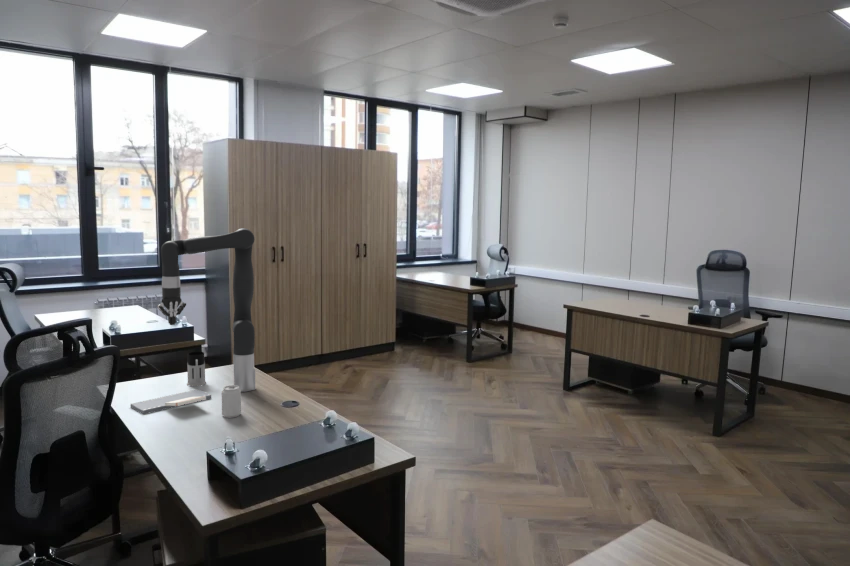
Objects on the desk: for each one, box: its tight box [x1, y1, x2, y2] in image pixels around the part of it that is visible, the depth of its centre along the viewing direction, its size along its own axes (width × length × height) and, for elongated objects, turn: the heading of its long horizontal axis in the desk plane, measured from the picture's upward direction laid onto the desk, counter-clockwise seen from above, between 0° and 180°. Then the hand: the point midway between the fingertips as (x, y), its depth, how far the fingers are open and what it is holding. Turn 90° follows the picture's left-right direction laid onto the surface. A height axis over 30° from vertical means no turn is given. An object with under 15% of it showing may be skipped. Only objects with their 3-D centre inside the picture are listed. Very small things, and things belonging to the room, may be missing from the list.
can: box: [221, 384, 242, 419], centre depth 244 cm, size 8×8×12 cm
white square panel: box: [165, 397, 207, 407], centre depth 250 cm, size 12×1×12 cm
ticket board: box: [130, 388, 212, 415], centre depth 258 cm, size 30×12×2 cm, turn 138°
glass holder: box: [186, 351, 207, 387], centre depth 283 cm, size 9×14×15 cm, turn 23°
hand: (172, 324), depth 266 cm, fingers closed
